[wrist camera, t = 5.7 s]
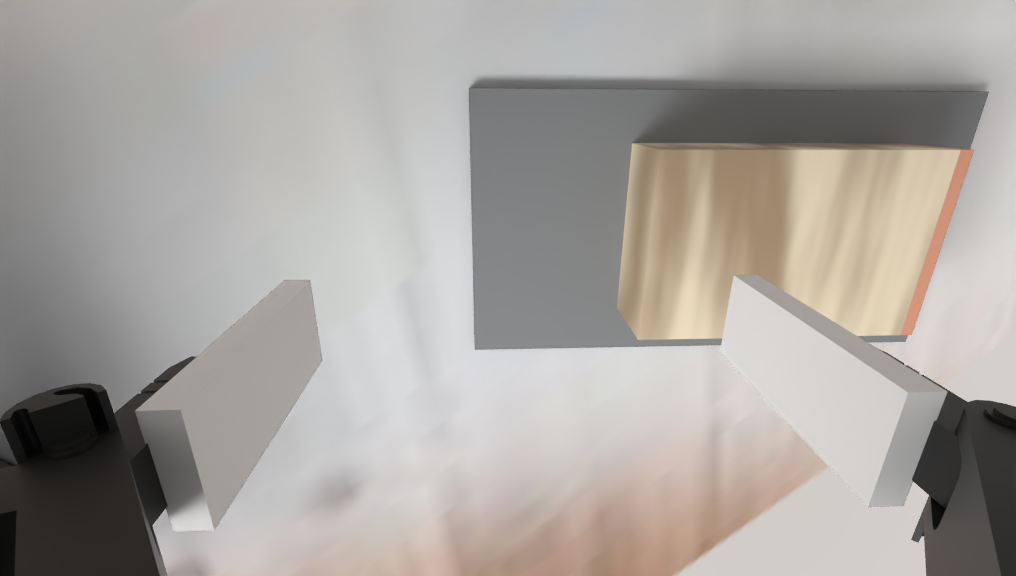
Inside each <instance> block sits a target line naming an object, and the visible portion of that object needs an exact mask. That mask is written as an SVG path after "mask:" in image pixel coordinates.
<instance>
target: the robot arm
mask: <svg viewBox="0 0 1016 576" xmlns="http://www.w3.org/2000/svg"><path fill="white" fill-rule="evenodd" d="M720 354H721V355H722V356H723V357H724V358H725V359H726V360H727V361H728V362H729V363H730V364H731V365H732V366H733V367H734V368H735V369H736V370H737V371H738V372H739V373H740V374H741V376H742V377H743V378H744V379H745V380H746V381H747V382H748V383H749V384H750V385H751V386H752V387H753V388H754V389H755V390H756V391H757V392H758V393H759V394H760V395H761V396H762V397H763V398H764V399H765V401H766V402H767V403H768V404H769V405H770V406H771V407H772V408H773V409H774V410H775V411H776V412H777V413H778V414H779V415H780V416H781V417H782V418H783V419H784V420H785V421H786V422H787V423H788V424H789V425H790V427H791V428H792V429H793V430H794V431H795V432H796V433H797V434H798V435H799V436H800V437H801V438H802V439H803V440H804V441H805V442H806V443H807V444H808V445H809V446H810V447H811V448H812V449H813V450H814V452H815V453H816V454H817V455H818V456H819V457H820V458H821V459H822V460H823V461H824V462H825V463H826V464H827V465H828V466H829V467H830V468H831V469H832V470H833V471H834V472H835V473H836V474H837V475H838V476H839V477H840V478H841V480H842V481H843V482H844V483H845V484H846V485H847V486H848V487H849V488H850V489H851V490H852V491H853V492H854V493H855V494H856V495H857V496H858V497H859V498H860V499H861V500H862V501H863V503H864V504H865V505H866V506H867V507H887V506H904V504H905V501H906V499H907V496H908V493H909V491H910V488H911V486H912V483H913V481H914V482H915V483H916V484H917V485H918V486H919V487H920V488H922V489H923V490H924V491H925V492H926V493H927V494H929V497H928V500H927V503H926V505H925V507H924V509H923V512H922V515H921V517H920V519H919V522H918V524H917V527H916V529H915V532H914V534H913V537H912V540H913V541H916V542H919V540H920V538H921V536H924V540H925V558H926V575H927V576H1016V407H1014V406H1010V405H1007V404H1003V403H997V402H993V401H983V400H974V401H970V402H967V401H965V400H963V399H962V398H960V397H958V396H957V395H955V394H953V393H951V392H950V391H948V390H947V389H945V388H944V387H942V386H940V385H939V384H937V383H935V382H934V381H932V380H930V379H929V378H927V377H926V376H924V375H920V374H919V372H917V371H916V370H914V369H912V368H911V367H909V366H905V365H904V363H903V362H901V361H899V360H898V359H896V358H894V357H893V356H891V355H889V354H888V353H886V352H884V351H881V350H879V349H877V348H876V347H874V346H872V345H871V344H869V343H867V342H866V341H864V340H863V339H861V338H859V337H858V336H856V335H854V334H853V333H851V332H850V331H848V330H846V329H845V328H843V327H841V326H840V325H838V324H837V323H835V322H833V321H832V320H830V319H828V318H827V317H825V316H823V315H822V314H820V313H819V312H817V311H815V310H814V309H812V308H810V307H809V306H807V305H806V304H804V303H802V302H801V301H799V300H797V299H796V298H794V297H793V296H791V295H789V294H788V293H786V292H784V291H783V290H781V289H779V288H778V287H776V286H775V285H773V284H771V283H770V282H768V281H766V280H765V279H763V278H762V277H760V276H758V275H734V277H733V282H732V288H731V293H730V299H729V304H728V310H727V315H726V321H725V326H724V332H723V337H722V343H721V348H720ZM321 362H322V356H321V349H320V342H319V336H318V329H317V322H316V316H315V309H314V302H313V296H312V289H311V282H310V280H284V281H283V282H282V283H281V284H280V285H278V286H277V287H276V288H275V289H274V290H273V291H272V292H270V293H269V294H268V295H267V296H266V297H265V298H264V299H262V300H261V301H260V302H259V303H258V304H257V305H256V306H254V307H253V308H252V309H251V310H250V311H249V312H248V313H246V314H245V315H244V316H243V317H242V318H241V319H239V320H238V321H237V322H236V323H235V324H234V325H233V326H231V327H230V328H229V329H228V330H227V331H226V332H225V333H223V334H222V335H221V336H220V337H219V338H218V339H217V340H215V341H214V342H213V343H212V344H211V345H210V346H209V347H207V348H206V349H205V350H204V351H203V352H202V353H201V354H199V355H198V356H197V357H190V358H188V359H186V360H184V361H182V362H180V363H178V364H176V365H174V366H172V367H170V368H168V369H167V370H166V371H165V372H163V373H162V374H161V375H160V376H159V377H157V378H156V379H155V380H154V383H150V384H149V385H148V386H147V387H145V388H144V389H143V390H142V391H141V394H137V395H136V396H135V397H133V398H132V399H131V400H130V401H129V402H127V403H126V404H125V405H124V406H123V407H121V408H120V409H119V410H118V411H117V412H115V413H114V412H113V409H112V406H111V403H110V400H109V398H108V395H107V392H106V390H105V389H104V388H103V387H102V386H101V385H96V384H90V383H89V384H75V385H69V386H65V387H60V388H55V389H52V390H49V391H46V392H43V393H40V394H37V395H34V396H32V397H30V398H28V399H26V400H24V401H22V402H20V403H18V404H16V405H15V406H13V407H12V408H11V409H9V410H8V411H7V412H5V413H4V415H3V416H2V418H1V420H0V424H1V427H2V429H3V431H4V433H5V436H6V438H7V440H8V442H9V445H10V447H11V449H12V451H13V454H14V456H15V458H16V460H17V463H18V465H14V466H11V465H9V464H7V463H6V462H3V461H1V460H0V576H167V573H166V569H165V566H164V563H163V559H162V556H161V552H160V549H159V546H158V542H157V539H156V536H155V533H154V530H153V527H152V525H153V524H154V522H155V521H156V520H157V519H158V517H159V516H160V515H161V514H162V512H163V511H164V510H165V509H166V510H167V513H168V516H169V519H170V522H171V525H172V528H173V531H174V532H178V531H206V530H215V529H216V527H217V525H218V524H219V522H220V521H221V519H222V517H223V516H224V514H225V513H226V511H227V510H228V508H229V506H230V505H231V503H232V502H233V500H234V499H235V497H236V495H237V494H238V492H239V491H240V489H241V488H242V486H243V484H244V483H245V481H246V480H247V478H248V477H249V475H250V473H251V472H252V470H253V469H254V467H255V466H256V464H257V462H258V461H259V459H260V458H261V456H262V454H263V453H264V451H265V450H266V448H267V447H268V445H269V443H270V442H271V440H272V439H273V437H274V436H275V434H276V432H277V431H278V429H279V428H280V426H281V425H282V423H283V421H284V420H285V418H286V417H287V415H288V414H289V412H290V410H291V409H292V407H293V406H294V404H295V402H296V401H297V399H298V398H299V396H300V395H301V393H302V391H303V390H304V388H305V387H306V385H307V384H308V382H309V380H310V379H311V377H312V376H313V374H314V373H315V371H316V369H317V368H318V366H319V365H320V363H321Z"/></svg>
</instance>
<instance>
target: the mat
mask: <svg viewBox="0 0 1016 576" xmlns="http://www.w3.org/2000/svg"><path fill="white" fill-rule="evenodd" d="M988 93H989V92H971V91H824V90H677V89H530V88H469V111H470V156H471V201H472V246H473V291H474V335H475V350H481V349H536V348H590V347H644V346H698V345H721V343H722V338H717V339H660V340H638V339H637V338H636V336H635V335H634V333H633V332H632V330H631V329H630V327H629V326H628V324H627V323H626V321H625V320H624V318H623V316H622V315H621V313H620V312H619V310H618V309H617V301H618V290H619V279H620V268H621V257H622V247H623V236H624V225H625V214H626V203H627V193H628V182H629V171H630V160H631V149H632V143H900V144H911V145H923V146H934V147H945V148H957V149H968V150H970V147H971V144H972V141H973V138H974V135H975V132H976V129H977V126H978V123H979V120H980V117H981V114H982V111H983V108H984V105H985V102H986V99H987V96H988ZM907 336H908V335H885V336H858V337H859V338H861V339H863V340H864V341H866V342H906V339H907Z"/></svg>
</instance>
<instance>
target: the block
mask: <svg viewBox="0 0 1016 576" xmlns="http://www.w3.org/2000/svg"><path fill="white" fill-rule="evenodd" d="M973 151H974V150H968V149H957V148H945V147H934V146H923V145H911V144H900V143H632V149H631V160H630V171H629V182H628V193H627V203H626V214H625V225H624V236H623V247H622V257H621V268H620V279H619V290H618V301H617V309H618V310H619V312H620V313H621V315H622V316H623V318H624V320H625V321H626V323H627V324H628V326H629V327H630V329H631V330H632V332H633V333H634V335H635V336H636V338H637V339H638V340H660V339H717V338H722V337H723V332H724V326H725V321H726V315H727V310H728V304H729V299H730V293H731V288H732V282H733V277H734V275H758V276H760V277H762V278H763V279H765V280H766V281H768V282H770V283H771V284H773V285H775V286H776V287H778V288H779V289H781V290H783V291H784V292H786V293H788V294H789V295H791V296H793V297H794V298H796V299H797V300H799V301H801V302H802V303H804V304H806V305H807V306H809V307H810V308H812V309H814V310H815V311H817V312H819V313H820V314H822V315H823V316H825V317H827V318H828V319H830V320H832V321H833V322H835V323H837V324H838V325H840V326H841V327H843V328H845V329H846V330H848V331H850V332H851V333H853V334H854V335H856V336H885V335H912V332H913V330H914V327H915V324H916V321H917V318H918V315H919V312H920V309H921V306H922V303H923V300H924V297H925V294H926V291H927V288H928V285H929V282H930V279H931V276H932V273H933V270H934V267H935V264H936V261H937V258H938V255H939V252H940V249H941V246H942V243H943V240H944V237H945V235H946V232H947V229H948V226H949V223H950V220H951V217H952V214H953V211H954V208H955V205H956V202H957V199H958V196H959V193H960V190H961V187H962V184H963V181H964V178H965V175H966V172H967V169H968V166H969V163H970V160H971V157H972V154H973Z"/></svg>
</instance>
